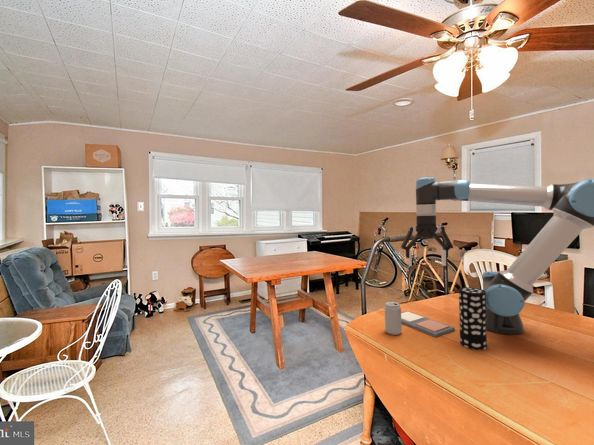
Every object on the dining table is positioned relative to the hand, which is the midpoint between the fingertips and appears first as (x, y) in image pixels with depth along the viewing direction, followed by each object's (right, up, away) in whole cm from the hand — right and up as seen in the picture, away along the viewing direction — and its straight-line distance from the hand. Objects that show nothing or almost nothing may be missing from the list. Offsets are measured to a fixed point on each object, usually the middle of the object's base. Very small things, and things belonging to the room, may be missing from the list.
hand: (426, 265), depth 120 cm
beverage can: (-15, -27, -2) cm, 31 cm away
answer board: (-1, -26, +5) cm, 27 cm away
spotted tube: (+10, -27, -15) cm, 32 cm away
